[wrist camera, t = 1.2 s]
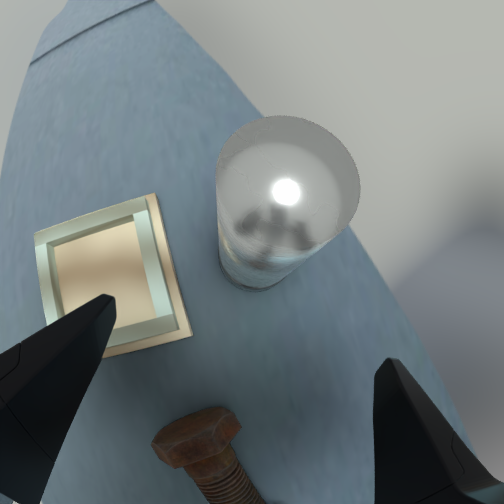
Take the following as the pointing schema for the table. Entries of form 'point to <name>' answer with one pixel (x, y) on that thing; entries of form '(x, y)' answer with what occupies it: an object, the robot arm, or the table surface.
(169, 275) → the tray
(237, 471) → the bolt
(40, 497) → the robot arm
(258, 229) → the grey cylindrical piece
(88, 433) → the table surface
